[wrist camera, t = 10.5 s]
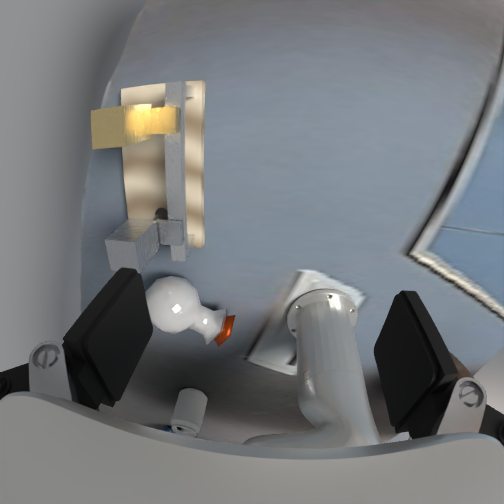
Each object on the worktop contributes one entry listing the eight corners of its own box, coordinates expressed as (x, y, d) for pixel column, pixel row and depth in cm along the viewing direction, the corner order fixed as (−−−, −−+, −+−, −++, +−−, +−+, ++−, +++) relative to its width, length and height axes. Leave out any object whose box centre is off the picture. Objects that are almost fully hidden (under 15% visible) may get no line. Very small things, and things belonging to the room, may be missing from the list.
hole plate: (204, 243, 43) (201, 248, 41) (135, 237, 43) (131, 242, 42) (205, 81, 31) (202, 80, 30) (126, 89, 32) (120, 89, 30)
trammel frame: (195, 244, 41) (167, 295, 30) (153, 240, 42) (115, 287, 31) (194, 84, 30) (153, 75, 19) (145, 88, 30) (91, 86, 20)
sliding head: (191, 132, 32) (153, 145, 22) (142, 134, 33) (92, 149, 23) (191, 102, 30) (153, 101, 20) (142, 106, 31) (90, 110, 21)
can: (177, 384, 63) (165, 422, 53) (206, 388, 63) (196, 428, 52) (183, 398, 67) (172, 434, 56) (209, 402, 66) (201, 440, 56)
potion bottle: (159, 262, 47) (231, 299, 52) (135, 310, 46) (207, 344, 50) (159, 266, 38) (247, 311, 43) (131, 325, 37) (219, 364, 42)
